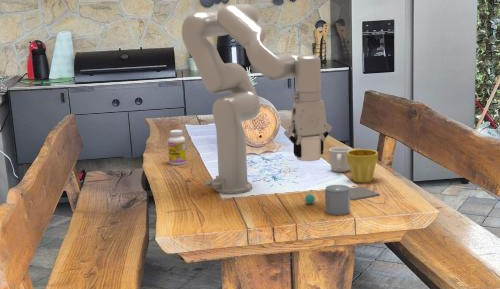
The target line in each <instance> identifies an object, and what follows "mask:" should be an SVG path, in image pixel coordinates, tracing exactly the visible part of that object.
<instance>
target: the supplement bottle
mask: <svg viewBox="0 0 500 289" xmlns="http://www.w3.org/2000/svg"><path fill="white" fill-rule="evenodd" d="M169 134H170V137H169V138H168V139H167V143H168V145H167V146H168V147H167V148H168V162H169V164H170V165H173V166H181V165H185V164H186V163H187V147H186V138H185V137H184V136H183V130H182V129H172V130H170V132H169Z"/></svg>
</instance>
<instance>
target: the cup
mask: <svg viewBox="0 0 500 289" xmlns="http://www.w3.org/2000/svg"><path fill="white" fill-rule="evenodd" d="M351 150H352V148H351V147H349V146H334V147H330V148H329V149H328V152H329V153H328V154H329V163H330V168H331V170H332V171H333V172H335V173H336V172H337V173H345V172H347V171H349V170H350V165H349V163H348V162H347V152H348V151H351Z"/></svg>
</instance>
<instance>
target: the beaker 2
mask: <svg viewBox="0 0 500 289" xmlns="http://www.w3.org/2000/svg"><path fill="white" fill-rule="evenodd" d="M350 189H351V188H350V187H349V186H348V185H346V184H345V185H344V184H331V185H327V186H326V187H325V190H324V198H325V199H324V200H325V201H324V211H325V213H327V214H328V215H332V216H333V215H334V216H343V215H349V213H350V211H351V199H350Z"/></svg>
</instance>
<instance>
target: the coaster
mask: <svg viewBox="0 0 500 289" xmlns="http://www.w3.org/2000/svg"><path fill="white" fill-rule="evenodd" d="M349 189H350V201H357V200H361V199H362V200H363V199H367V198H374V197H378V196H380V193H378V192H375V191H373V190H371V189H369V188H366V187H363V186H357V187H351V188H349Z"/></svg>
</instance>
